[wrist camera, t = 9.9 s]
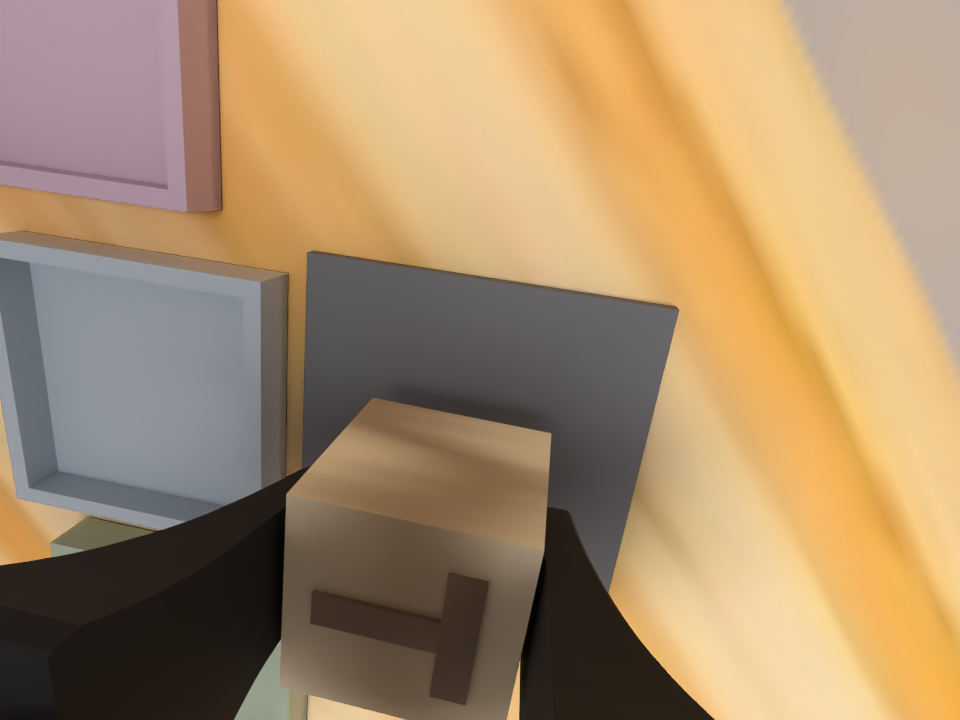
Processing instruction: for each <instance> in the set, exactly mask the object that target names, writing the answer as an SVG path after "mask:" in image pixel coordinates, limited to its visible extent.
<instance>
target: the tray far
mask: <svg viewBox="0 0 960 720" xmlns="http://www.w3.org/2000/svg"><path fill="white" fill-rule="evenodd" d="M151 533H154V531H150V530H145V529H140V528H136V527H131V526H127V525H122V524H117V523H113V522H108V521H104V520H99V519H94V518H90V517H87V518H85V519H84V520H82V521H81V522H80V523H78V524H77V525H75V526H74V527H72V528H71V529H70V530H68V531H67V532H65V533H64V534H62V535H61V536H59V537H58V538H57V539H55V540H54V541H52V542H51V549H52V556H53V557H56V556H62V555H67V554H72V553H76V552H81V551H85V550H90V549H95V548H99V547H103V546H107V545H110V544H114V543H118V542H121V541H125V540H129V539H132V538H136V537H140V536H143V535H147V534H151ZM280 658H281V640H280V642H279V643H278V645H277V646H276V648H275V649H274V651H273V652H272V654H271V655H270V657H269V658H268V660H267V661H266V663H265V665H264V666H263V668H262V670H261V671H260V673H259V674H258V676H257V678H256V679H255V681H254V683H253V685H252V687H251V689H250V691H249V692H248V694H247V696H246V698H245V700H244V702H243V704H242V706H241V707H240V709H239V711H238V713H237V715H236V717H235V719H234V720H307V697H308V694H305V693H301V692H297V691H293V690H289V689H286V688H282V687H279V685H280Z"/></svg>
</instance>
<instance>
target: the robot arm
mask: <svg viewBox="0 0 960 720" xmlns="http://www.w3.org/2000/svg"><path fill="white" fill-rule="evenodd" d="M312 465H313V464H312ZM312 465H310V466H308V467H306V468H304V469H301V470H299V471H297V472H295V473H293V474H291V475H289V476H287V477H285V478H283V479H281V480H279V481H277V482H275V483H273V484H271V485H269V486H267V487H265V488H263V489H261V490H259V491H257V492H255V493H253V494H251V495H248V496H246V497H244V498H242V499H239V500H237V501H235V502H233V503H230V504H228V505H226V506H223V507H221V508H219V509H217V510H214V511H212V512H210V513H207V514H205V515H202V516H200V517H197V518H194V519H192V520H189V521H186V522H184V523H181V524H178V525H175V526H172V527H169V528H166V529H163V530H160V531H157V532H154V533H151V534H147V535H143V536H140V537H136V538H132V539H129V540H125V541H121V542H118V543H114V544H110V545H107V546H103V547H99V548H95V549H90V550H85V551H81V552H76V553H72V554H67V555H62V556H56V557H51V558H46V559H40V560H35V561H29V562H22V563H15V564H8V565H1V566H0V720H234V719H235V717H236V715H237V713H238V711H239V709H240V707H241V706H242V704H243V702H244V700H245V698H246V696H247V694H248V692H249V691H250V689H251V687H252V685H253V683H254V681H255V679H256V678H257V676H258V674H259V673H260V671H261V670H262V668H263V666H264V665H265V663H266V661H267V660H268V658H269V657H270V655H271V654H272V652H273V651H274V649H275V648H276V646H277V645H278V643H279V642H280V640H281V630H282V603H283V575H284V548H285V520H286V494H287V493H288V492H289V491H290V489H291V488H292V487H293V486H294V485H295V484H296V483H297V482H298V481H299V479H300V478H301V477H302V476H303V475H304V474H305V473H306V472H307V470H308V469H309V468H310V467H311V466H312ZM519 720H714V719H713V718H712V717H711V716H710V715H709V714H708V713H707V712H706V711H705V710H704V709H703V708H702V707H701V706H700V705H699V704H698V703H697V702H696V701H695V700H694V699H692V698H691V697H690V696H689V695H688V694H687V693H686V692H685V691H684V690H683V689H682V687H681V686H680V685H679V684H678V683H677V682H676V681H675V680H674V679H673V678H672V677H671V676H670V675H669V674H668V673H667V671H666V670H665V669H664V668H663V667H662V666H661V665H660V663H659V662H658V661H657V660H656V659H655V658H654V657H653V656H652V654H651V653H650V652H649V651H648V650H647V648H646V647H645V646H644V645H643V644H642V642H641V641H640V640H639V638H638V637H637V636H636V634H635V633H634V632H633V630H632V629H631V627H630V626H629V625H628V623H627V622H626V620H625V619H624V617H623V616H622V615H621V613H620V611H619V610H618V608H617V607H616V605H615V604H614V602H613V600H612V599H611V597H610V595H609V594H608V592H607V590H606V589H605V587H604V585H603V583H602V582H601V580H600V578H599V576H598V574H597V572H596V571H595V569H594V567H593V565H592V563H591V561H590V559H589V557H588V555H587V553H586V551H585V548H584V546H583V544H582V542H581V539H580V537H579V535H578V532H577V530H576V527H575V525H574V522H573V519H572V516H571V514H570V513H569V512H568V511H567V510H562V509H557V508H552V507H547V514H546V530H545V547H544V554H543V559H542V563H541V568H540V572H539V577H538V581H537V585H536V590H535V594H534V599H533V603H532V608H531V612H530V617H529V621H528V626H527V630H526V635H525V639H524V644H523V648H522V652H521V660H520V712H519Z"/></svg>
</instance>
